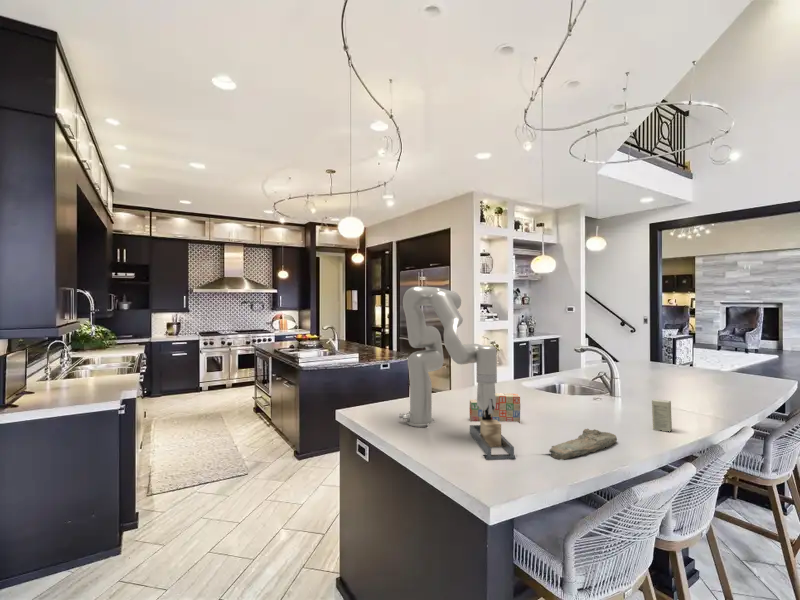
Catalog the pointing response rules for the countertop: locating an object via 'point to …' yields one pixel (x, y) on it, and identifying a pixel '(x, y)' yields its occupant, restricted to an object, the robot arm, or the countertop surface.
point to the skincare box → (661, 415)
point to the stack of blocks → (499, 408)
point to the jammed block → (491, 432)
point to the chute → (487, 449)
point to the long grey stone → (583, 444)
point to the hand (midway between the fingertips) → (486, 427)
